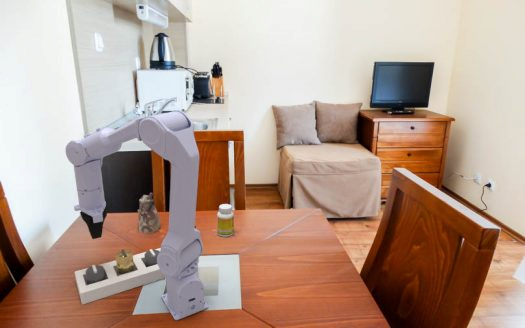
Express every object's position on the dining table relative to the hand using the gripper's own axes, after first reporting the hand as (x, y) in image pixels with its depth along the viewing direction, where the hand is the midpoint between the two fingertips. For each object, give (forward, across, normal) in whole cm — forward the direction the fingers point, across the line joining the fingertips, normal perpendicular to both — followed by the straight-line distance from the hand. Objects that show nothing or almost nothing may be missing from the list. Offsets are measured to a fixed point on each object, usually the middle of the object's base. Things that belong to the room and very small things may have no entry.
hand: (96, 237), depth 89 cm
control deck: (+10, +6, +5) cm, 13 cm away
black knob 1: (+10, +6, -2) cm, 12 cm away
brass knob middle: (+8, +6, +5) cm, 11 cm away
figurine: (+11, -18, +18) cm, 28 cm away
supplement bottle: (+11, -2, +38) cm, 40 cm away
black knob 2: (+10, +6, +12) cm, 17 cm away
